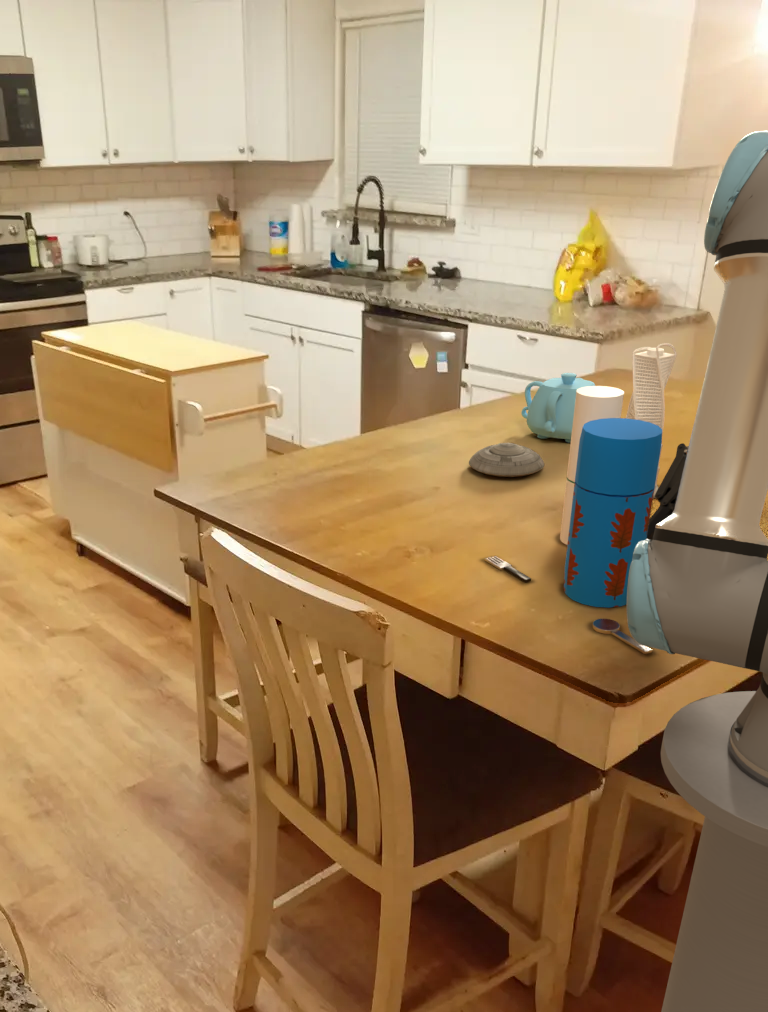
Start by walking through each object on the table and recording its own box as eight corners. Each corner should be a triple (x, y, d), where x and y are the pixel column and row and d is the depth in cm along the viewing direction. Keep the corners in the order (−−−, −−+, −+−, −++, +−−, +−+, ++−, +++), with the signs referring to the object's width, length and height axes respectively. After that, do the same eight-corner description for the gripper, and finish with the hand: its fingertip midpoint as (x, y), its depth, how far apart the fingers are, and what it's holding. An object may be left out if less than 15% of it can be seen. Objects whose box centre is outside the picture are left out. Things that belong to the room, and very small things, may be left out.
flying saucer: (524, 487, 183) (526, 459, 181) (455, 474, 192) (456, 447, 189) (555, 465, 194) (558, 439, 191) (489, 454, 202) (490, 429, 199)
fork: (534, 580, 147) (534, 577, 146) (522, 583, 146) (522, 580, 146) (495, 557, 155) (495, 555, 154) (484, 560, 154) (484, 557, 154)
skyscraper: (662, 500, 175) (687, 344, 161) (616, 499, 176) (637, 344, 163) (656, 485, 182) (679, 335, 168) (611, 484, 183) (631, 334, 170)
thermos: (645, 585, 144) (672, 423, 132) (626, 614, 136) (652, 444, 124) (574, 571, 149) (594, 414, 137) (552, 598, 141) (570, 433, 129)
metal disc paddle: (658, 650, 126) (659, 646, 126) (638, 656, 125) (638, 652, 125) (606, 620, 135) (607, 616, 134) (586, 625, 133) (587, 621, 133)
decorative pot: (536, 448, 205) (542, 384, 198) (516, 426, 219) (521, 367, 212) (610, 444, 205) (619, 381, 199) (586, 423, 219) (593, 363, 213)
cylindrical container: (596, 551, 156) (617, 399, 144) (554, 543, 159) (570, 394, 147) (609, 536, 161) (629, 388, 149) (567, 529, 164) (584, 384, 152)
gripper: (793, 446, 137) (686, 575, 139) (722, 425, 148) (624, 544, 150) (774, 415, 133) (664, 548, 135) (702, 395, 143) (601, 519, 145)
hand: (643, 546), depth 142 cm, fingers closed
